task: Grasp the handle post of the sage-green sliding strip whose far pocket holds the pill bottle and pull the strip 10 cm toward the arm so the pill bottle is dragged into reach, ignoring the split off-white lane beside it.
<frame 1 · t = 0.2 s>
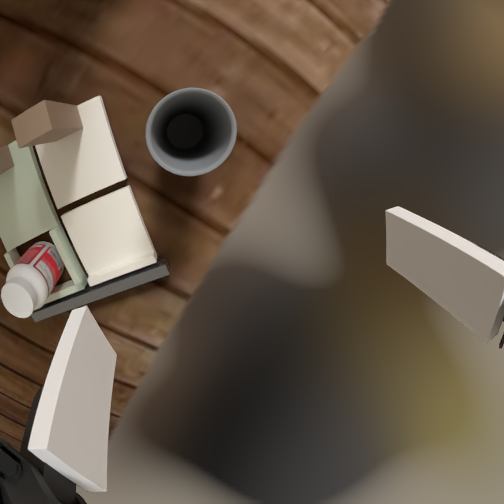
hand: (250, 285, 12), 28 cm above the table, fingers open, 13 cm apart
sage strip: (10, 238, 27), point 6 cm above the table, slide at 0.0 cm
cup: (184, 131, 34), on the table
pill bottle: (47, 259, 35), resting in sage strip
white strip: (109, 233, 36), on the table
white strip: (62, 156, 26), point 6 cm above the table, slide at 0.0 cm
end bar: (95, 285, 38), on the table
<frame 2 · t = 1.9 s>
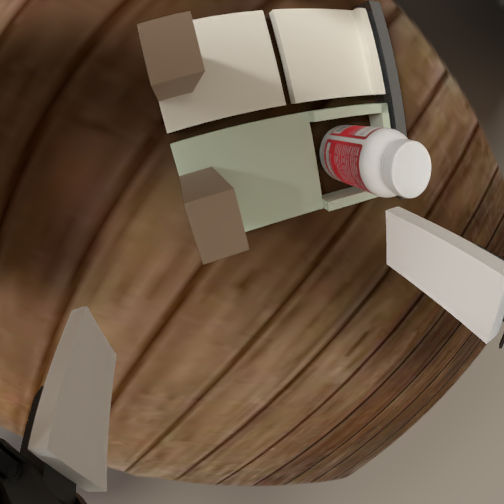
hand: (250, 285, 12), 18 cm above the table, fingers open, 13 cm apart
sage strip: (319, 173, 24), point 6 cm above the table, slide at 0.0 cm
pill bottle: (341, 152, 30), resting in sage strip
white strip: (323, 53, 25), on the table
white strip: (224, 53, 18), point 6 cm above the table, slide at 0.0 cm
end bar: (380, 98, 28), on the table
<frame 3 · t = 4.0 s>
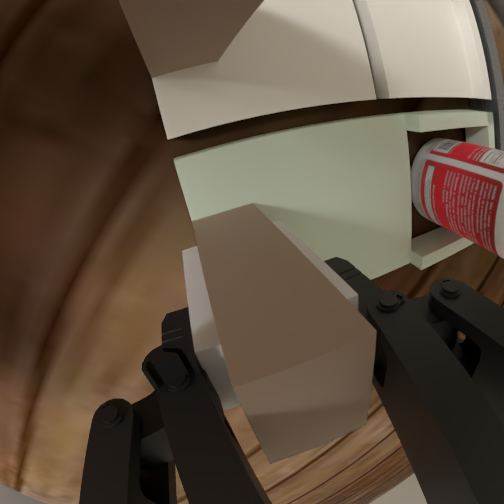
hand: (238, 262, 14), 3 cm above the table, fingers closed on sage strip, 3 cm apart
sage strip: (440, 225, 12), point 6 cm above the table, slide at 0.0 cm, touching gripper
pill bottle: (432, 177, 19), resting in sage strip
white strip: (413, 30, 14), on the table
end bar: (474, 103, 17), on the table
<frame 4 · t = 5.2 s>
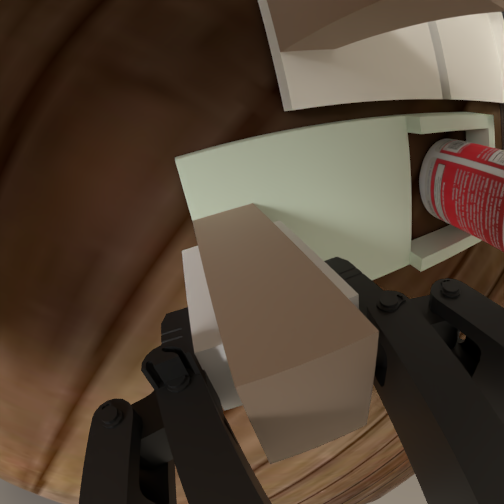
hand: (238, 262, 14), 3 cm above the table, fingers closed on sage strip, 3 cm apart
sage strip: (440, 227, 12), point 6 cm above the table, slide at 5.9 cm, touching gripper
pill bottle: (440, 176, 19), resting in sage strip
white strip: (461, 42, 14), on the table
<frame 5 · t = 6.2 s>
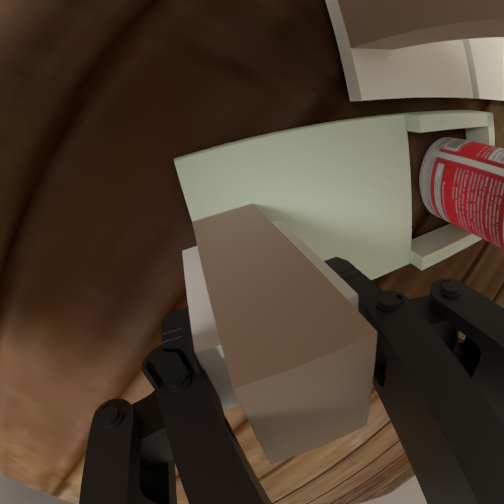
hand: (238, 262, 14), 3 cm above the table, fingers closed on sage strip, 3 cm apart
sage strip: (440, 225, 12), point 6 cm above the table, slide at 10.0 cm, touching gripper, pill bottle
pill bottle: (440, 175, 19), resting in sage strip
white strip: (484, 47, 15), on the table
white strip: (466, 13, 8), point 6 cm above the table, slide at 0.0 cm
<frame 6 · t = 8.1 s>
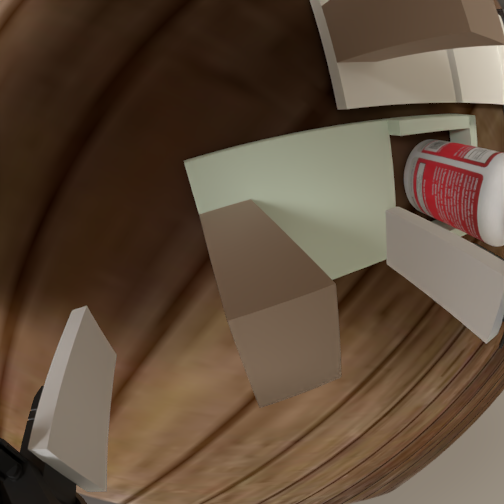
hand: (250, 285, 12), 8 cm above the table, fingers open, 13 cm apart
sage strip: (416, 217, 15), point 6 cm above the table, slide at 10.0 cm
pill bottle: (425, 174, 21), resting in sage strip
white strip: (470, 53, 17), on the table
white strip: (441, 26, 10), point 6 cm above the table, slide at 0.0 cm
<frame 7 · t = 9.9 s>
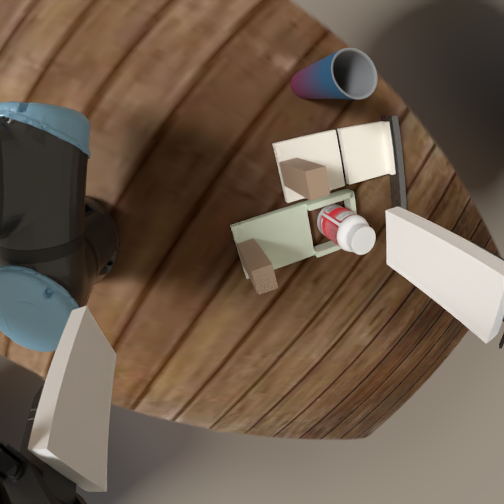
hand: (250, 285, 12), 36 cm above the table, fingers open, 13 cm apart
sage strip: (310, 243, 48), point 6 cm above the table, slide at 10.0 cm
cup: (304, 84, 43), on the table
pill bottle: (330, 218, 54), resting in sage strip
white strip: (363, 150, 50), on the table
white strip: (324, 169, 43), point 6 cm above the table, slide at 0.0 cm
end bar: (392, 172, 53), on the table
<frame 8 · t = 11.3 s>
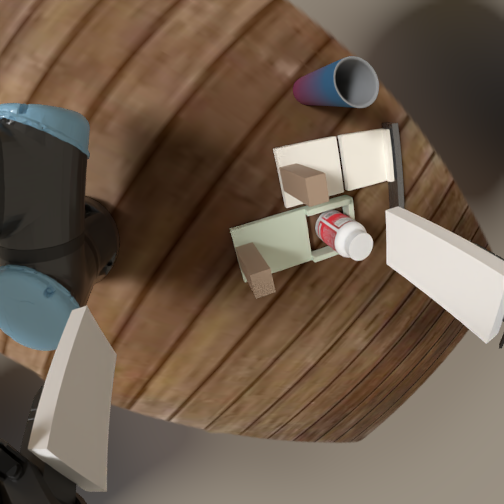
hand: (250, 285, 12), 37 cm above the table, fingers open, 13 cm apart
sage strip: (308, 248, 48), point 6 cm above the table, slide at 10.0 cm
cup: (306, 91, 44), on the table
pill bottle: (328, 224, 55), resting in sage strip
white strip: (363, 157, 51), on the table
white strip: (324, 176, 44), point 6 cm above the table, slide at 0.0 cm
end bar: (390, 179, 54), on the table
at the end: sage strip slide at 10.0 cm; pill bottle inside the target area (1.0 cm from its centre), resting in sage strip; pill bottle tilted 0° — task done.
